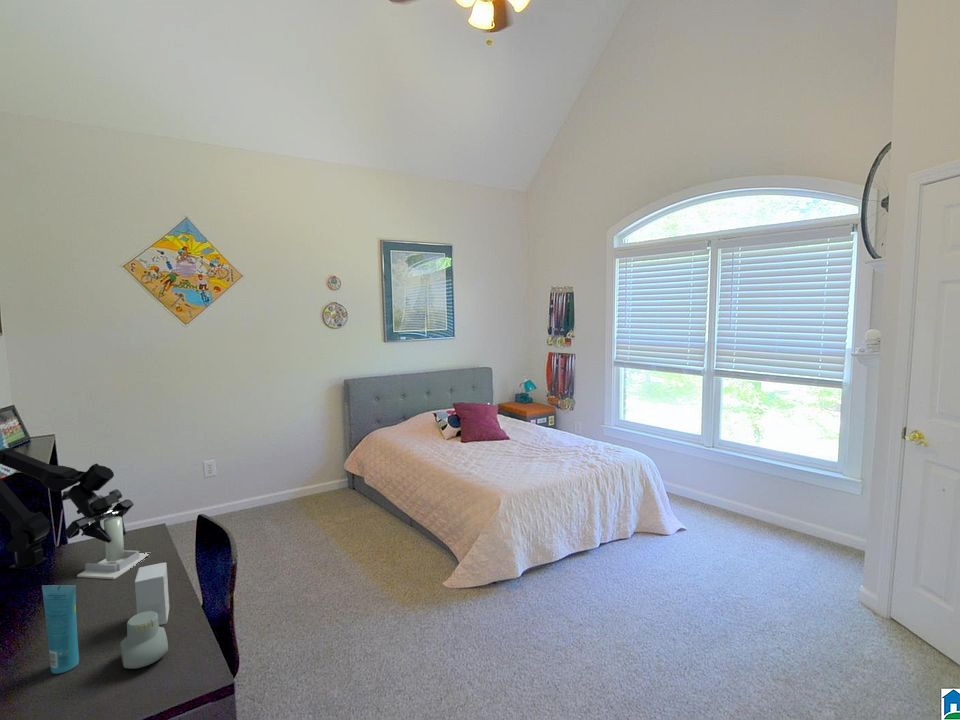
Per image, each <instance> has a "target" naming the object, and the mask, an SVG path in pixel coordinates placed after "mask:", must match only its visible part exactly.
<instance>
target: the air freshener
mask: <svg viewBox="0 0 960 720" xmlns="http://www.w3.org/2000/svg"><path fill="white" fill-rule="evenodd" d="M126 631H127V633H126V634H127V636H126V637H125V638H123V640H121V642H119V644H120V654H121V661H122V665H123V668H124V669H130V670H131V669H134V670H135V669H139V668H144V667H147V666H149V665H151V664H154V663H155V662H157V661H159V660H160V659H161V658H162V657H164V656H165V655H166V653H168V651H169V643H168V642H169V641H168V637H167V633H166V630H165V628H164V627H163V626H160V625H159V626H158V614H157V613H156V612H153V611H146V612H142V613H139V614H137V613H136V614H134V615H133V616H131V617H130V618H129V619H128V620H127V622H126Z"/></svg>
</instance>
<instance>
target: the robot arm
mask: <svg viewBox="0 0 960 720" xmlns="http://www.w3.org/2000/svg"><path fill="white" fill-rule="evenodd" d="M0 465H2V466H5V467H7V468H10V469H12V470H15V471H17V472H20V473H23V474H25V475H28V476H31V477H33V478H36V479H37V480H39V481H40V482H41V484H42V486H45V487H46V488H48V489H49V490H51V491H53V492H61V491H63V492H62V496H61V499H60V500H61V501H62V502H63V501H67V500H70V501H71V502H72V503H73V504H74V506H75V507H76V508H77V510H76V514H77V515H80V514H82V517H80V518H78V519H75V520H73V521H71V523H70V524H69V525H68V527H67V528H66V529H65V530H64V535H65V536H66V537H67V539H68V540H70V539H73V538H75V537H77V536H79V535H80V536H82V537H84V536H87V537H91V538H93V539H96V540H100V541H103V542H104V543H105V542H108V543H110V542H111V539H110V537H109V536H108V534H107V533H106V532H105V531H104V527H102V525H101V521H104V520H106V519H108V518H111V517H122V526H123V537H124V536H126V534H127V531H126V528H125V523H124V519H123V518H124V516H125V515H126V514H127V513H128V512H129V510H131V509H132V507H134V505H135V503H134V502H133V501H132V500H131V499H125V500H124V499H123V500H122V501H120V499H122V498H123V494H122V493H121V491H120V490H119V489H118V488H117V489H114V490H112V491H109V492H108V493H109V494H108V495H106V496H104V495H102V494H100V495H98V494H97V493H96V491H100V490H101V489H102V488H104V486H106V484H108V483H109V482H110V481H111V480H112V479H113V478H114V470H112V469H111V468H110V467H107V466H104V465H99V464H98V463H93V464H92V465H91V466H90V467H89V468H88V469H87V470H86V471H82V470H77V469H76V468H74V467H71V466H66V465H55V464H50V463H47V462H45V461H44V462H43V461H41V460H39V459H37V458H34V457H32V456H30V455H28V454H23V453H21V452H19V451H17V450H15V449H13V448H12V447H5V448H0ZM68 488H70V489H68ZM66 489H68V490H66ZM114 504H115V506H113V505H114ZM112 507H113V508H112ZM111 508H112V509H111ZM0 512H1V513H2V514H3V516H5V518H6V519H7V520H8V521H9V522H10V533H11V534H12V536H13V538H12V539H11V540H10V541H9V542H7V544H6V545H5V548H6V550H7V552H8V553H10V552H11V553H13V559H14V560H13V561H14V564H12V565H10V566H9V569H15V570H16V569H17V570H28V569H31V568H33V567H35V566H37V565H39V564H41V563H42V562H45V561H47V560H48V557H44V553H43V547H42V541H43V540H45V539H47V538H46V537H47V534H49V532H50V531H51V524H50V521H51V520H50V518H49V519H48V518H47V517H46V515H44V513H43V512H42V511H38V512H36V513H35V512H33V511H30V510H29V509H28V508H27V507H26V505H25V504H23V502H22V500H21V499H19V498H18V497H17V495H16V494H15V493H14V492H13V491H12V489H10V487H9V486H8V485H7V483H5V481H4V480H3V479H2V478H1V477H0ZM81 531H82V532H81ZM80 532H81V534H80Z"/></svg>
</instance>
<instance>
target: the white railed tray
mask: <svg viewBox="0 0 960 720" xmlns="http://www.w3.org/2000/svg"><path fill="white" fill-rule="evenodd" d="M139 552H140V550H130V549H128V550H127V549H124V557H123V558H122V559H120V560H117V561H111V562H109V561H106V557H105V558H103V559H102V560H100V561H99V562H97V563H96V562H85V564H84V570H83V571H82V572H80V573H78V574H77V576H76V577H77V578H84V579H85V578H87V579H105V580H115V579H117V578H118V577H120V576H121V575H123V574H124V573H126V572H127V571H129V570H131V569H132V568H134V567H135V566H137V565H138V564H139V563H138V562H140V561H141V560H143V559H144V558H145V557H146V556H148V555H149V554H147V553H148V552H145V554H144V553H139ZM144 560H145V559H144ZM144 560H143V561H144ZM141 562H142V561H141ZM141 562H140V563H141ZM137 563H138V564H137ZM136 564H137V565H136ZM133 566H134V567H133ZM130 568H131V569H130Z"/></svg>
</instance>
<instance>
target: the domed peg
mask: <svg viewBox="0 0 960 720" xmlns="http://www.w3.org/2000/svg"><path fill="white" fill-rule="evenodd" d="M103 529H104V531H105V532H106V533H107V534H108V536H109V537H110V539H111V542H110V543H108V542H105V541H104V546H105V548H104V549H105V558H106V561H109V562H111V561H117V560H120V559H122V558H123V557H124V550H125V547H124V546H125V544H124V543H125V542H124V536H123V526H122V517H111V518H106V519H103Z"/></svg>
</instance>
